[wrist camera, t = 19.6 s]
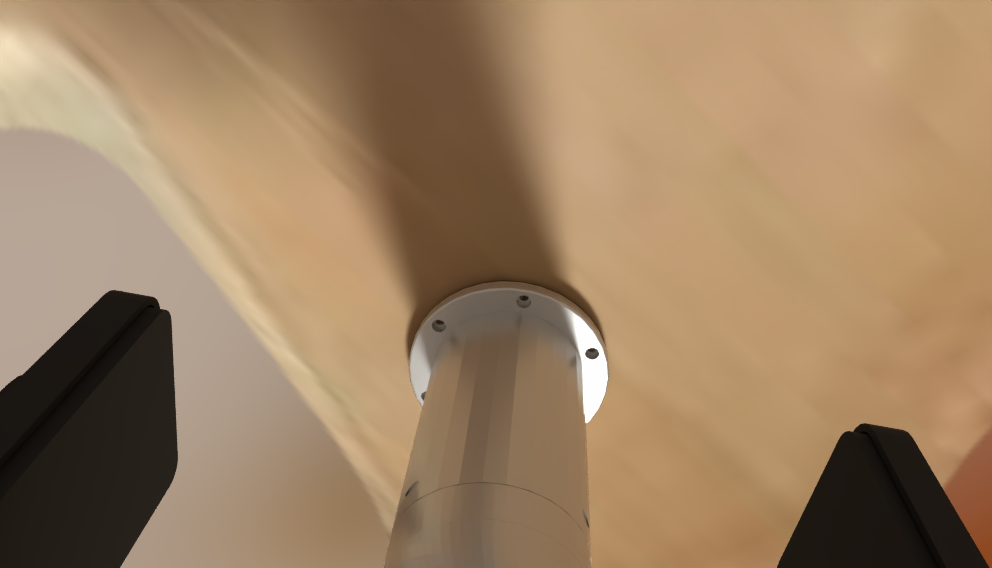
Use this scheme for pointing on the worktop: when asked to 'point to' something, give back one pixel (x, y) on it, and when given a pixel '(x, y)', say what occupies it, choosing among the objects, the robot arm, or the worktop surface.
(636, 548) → the worktop surface
